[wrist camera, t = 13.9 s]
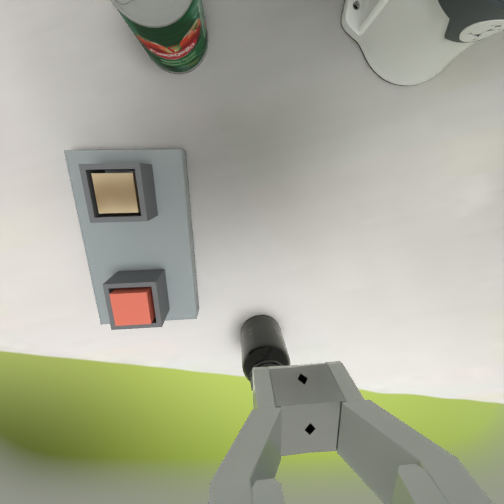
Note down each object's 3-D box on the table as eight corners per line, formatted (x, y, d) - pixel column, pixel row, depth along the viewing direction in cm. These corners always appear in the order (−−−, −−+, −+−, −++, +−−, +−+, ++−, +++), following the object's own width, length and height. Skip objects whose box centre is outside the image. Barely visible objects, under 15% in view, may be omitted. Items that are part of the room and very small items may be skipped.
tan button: (108, 173, 32) (91, 173, 28) (144, 173, 32) (132, 172, 29) (114, 209, 33) (98, 213, 30) (148, 208, 34) (138, 212, 30)
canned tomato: (178, -20, 30) (149, -126, 19) (221, 45, 32) (216, -18, 22) (127, 28, 31) (74, -49, 20) (173, 88, 33) (145, 47, 22)
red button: (122, 281, 35) (109, 294, 31) (155, 279, 35) (146, 292, 32) (127, 310, 36) (115, 326, 32) (159, 308, 37) (151, 323, 33)
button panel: (78, 152, 34) (36, 146, 27) (185, 151, 35) (173, 144, 28) (110, 313, 41) (83, 343, 34) (198, 308, 42) (192, 336, 35)
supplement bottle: (286, 321, 44) (306, 372, 32) (270, 353, 45) (284, 413, 34) (249, 308, 43) (256, 357, 31) (234, 342, 44) (235, 400, 33)
